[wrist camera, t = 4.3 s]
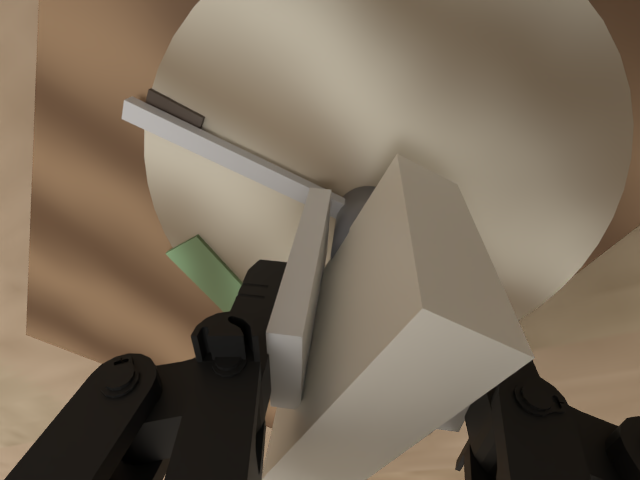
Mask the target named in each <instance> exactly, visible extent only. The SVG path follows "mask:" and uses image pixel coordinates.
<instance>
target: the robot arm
mask: <svg viewBox="0 0 640 480" xmlns="http://www.w3.org/2000/svg"><path fill="white" fill-rule="evenodd" d="M330 204H331V189H320V188H310V189H309V193H308V196H307V199H306V202H305V206H304V209H303V212H302V215H301V219H300V222H299V225H298V229H297V232H296V235H295V238H294V242H293V245H292V248H291V251H290V255H289V258H288V261H287V262H280V261H271V260H261V259H260V260H258V261H257V262H256V263H255V264H254V265H253V266H252V267H251V268H249V269H248V271H247V273H246V276H245V278H244V280H243V282H242V285H241V287H240V289H239V292H238V296H236V299H235V301H234V303H233V305H232V308H231V310H230V311H228V312H221V313H216V314H214V315H212V316H209V317H207V318H205V319H204V320H203V321H202V322H200V323H199V324H198V325H197V326H196V327H195V329H194V331H193V332H192V334H191V340H192V344H193V348H194V352H195V356H196V357H195V358H193V359H190V360H186V361H182V362H175V363H169V364H163V365H157V366H156V365H155V364H154V362H153V361H152V360H151V358H150V357H147V356H145V355H143V354H137V353H128V354H124V355H120V356H116V357H114V358H112V359H110V360H108V361H107V362H105V363H103V364H102V365H100V366H99V367H98V368H97V369H96V370H95V371H94V372H93V373H92V374H91V375H90V376H89V377H88V379H87V380H86V381H85V382H84V383H83V385H82V386H81V387H80V388H79V390H78V391H77V392H76V393H75V394H74V396H73V397H72V398H71V399H70V400H69V402H68V403H67V404H66V405H65V407H64V408H63V409H62V410H61V411H60V413H59V414H58V415H57V416H56V417H55V419H54V420H53V421H52V422H51V423H50V425H49V426H48V427H47V428H46V430H45V431H44V432H43V433H42V434H41V436H40V437H39V438H38V439H37V440H36V442H35V443H34V444H33V445H32V447H31V448H30V449H29V450H28V451H27V453H26V454H25V455H24V456H23V457H22V459H21V460H20V461H19V462H18V464H17V465H16V466H15V467H14V468H13V470H12V471H11V472H10V473H9V474H8V476H7V477H6V478H5V479H4V480H163V478H164V476H165V479H164V480H262V469H263V457H264V445H265V433H266V421H265V416H266V412H267V408H268V404H269V400H270V405H271V406H272V407H279V408H286V409H294V410H295V409H296V408H297V407H298V406H299V405H300V403H301V400H302V394H303V388H304V382H305V376H306V370H307V365H308V359H309V353H310V347H311V341H312V335H313V329H314V323H315V317H316V312H317V306H318V300H319V294H320V288H321V282H322V276H323V270H324V268H325V263H326V257H327V250H328V235H329V220H330ZM464 420H465V421H466V426H467V431H468V436H469V439H468V441H467V443H466V445H465V446H464V448H463V450H462V452H461V454H460V455H459V457H458V459H457V462H456V468H455V470H458V471H460V470H461V469H462V467H463V465H464V472H465V480H640V416H636V417H630V418H626V420H625V421H624V422H623V423H622V424H621V425H620V426H616V425H614V424H611V423H609V422H606V421H604V420H601V419H599V418H596V417H594V416H591V415H589V414H586V413H584V412H581V411H579V410H577V409H575V408H573V407H571V406H569V405H568V404H567V402H566V400H565V398H564V397H563V396H562V395H561V393H560V392H559V391H558V390H557V389H556V388H555V387H554V386H553V385H551V384H550V383H548V382H547V381H545V380H544V379H542V378H540V376H539V374H538V372H537V370H536V367H535V365H534V363H533V360H531V361H530V362H529V363H527V364H526V365H524V366H523V367H522V368H520V369H519V370H517V371H516V372H515V373H513V374H512V375H511V376H509V377H508V378H506V379H505V380H504V381H502V382H501V383H499V384H498V385H497V386H495V387H494V388H493V389H491V390H490V391H488V392H487V393H486V394H484V395H483V396H481V397H480V398H479V399H477V400H476V401H475V402H473V403H472V404H470V405H469V406H468V407H466V408H465V409H463V410H462V411H461V412H459V413H458V414H457V415H455V416H454V417H452V418H451V419H450V420H448V421H447V422H445V423H444V424H443V425H441V426H440V427H439V428H437V429H441V430H448V431H456V432H459V430H460V428H461V426H462V424H463V422H464ZM165 474H166V475H165Z"/></svg>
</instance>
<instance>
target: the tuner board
mask: <svg viewBox="0 0 640 480" xmlns="http://www.w3.org/2000/svg"><path fill="white" fill-rule="evenodd" d="M132 96H133V97H135V98H137V99H139V100H141V101H143V102H145V103H147V104H149V105H151V106H153V107H156V108H158V109H160V110H162V111H164V112H166V113H168V114H170V115H172V116H174V117H176V118H178V119H181V120H183V121H185V122H187V123H189V124H191V125H193V126H195V127H197V128H199V129H201V130H204V131H206V132H208V133H210V134H212V135H214V136H216V137H218V138H220V139H222V140H224V141H226V142H229V143H231V144H233V145H235V146H237V147H239V148H241V149H243V150H245V151H247V152H249V153H252V154H254V155H256V156H258V157H260V158H262V159H264V160H266V161H268V162H270V163H272V164H274V165H277V166H279V167H281V168H283V169H285V170H287V171H289V172H291V173H293V174H295V175H297V176H300V177H302V178H304V179H306V180H308V181H310V182H312V183H314V184H316V185H318V186H320V187H322V188H325V189H331V192H333V193H335V194H337V195H339V196H341V197H343V196H344V195H345V194H346V193H348V192H349V191H351V190H353V189H355V188H358V187H362V186H374V187H376V186H377V185H378V183H379V181H380V180H381V178H382V177H383V175H384V174H385V172H386V170H387V169H388V167H389V166H390V164H391V163H392V161H393V159H394V158H395V156H396V155H397V154H399V155H401V156H403V157H405V158H407V159H409V160H411V161H413V162H415V163H416V164H418V165H420V166H422V167H424V168H426V169H428V170H430V171H432V172H434V173H436V174H438V175H440V176H442V177H444V178H446V179H448V180H450V181H452V182H453V183H455V184H457V185H458V187H459V189H460V191H461V193H462V196H463V198H464V200H465V202H466V205H467V207H468V209H469V211H470V214H471V216H472V218H473V220H474V223H475V225H476V227H477V229H478V232H479V234H480V236H481V238H482V241H483V243H484V245H485V247H486V249H487V252H488V254H489V256H490V258H491V261H492V263H493V265H494V267H495V270H496V272H497V274H498V276H499V279H500V281H501V283H502V285H503V288H504V290H505V292H506V294H507V297H508V299H509V301H510V303H511V306H512V308H513V310H514V312H515V315H516V317H517V319H518V321H519V320H521V319H522V318H523V317H525V316H526V315H528V314H529V313H531V312H532V311H534V310H535V309H537V308H538V307H539V306H541V305H542V304H543V303H545V302H546V301H547V300H548V299H549V298H550V297H552V296H553V295H554V294H555V293H556V292H558V291H559V290H560V289H561V288H562V287H563V286H564V285H565V284H566V283H567V282H568V281H569V280H570V279H571V278H572V277H573V276H574V275H575V274H577V273H578V272H579V271H581V270H582V269H583V268H584V267H586V266H587V265H588V264H590V263H591V262H592V261H594V260H595V259H596V258H597V257H599V256H600V255H601V254H603V253H604V252H605V251H606V250H608V249H609V248H610V247H612V246H613V245H614V244H616V243H617V242H618V241H619V240H621V239H622V238H623V237H625V236H626V235H627V234H629V233H630V232H631V231H632V230H634V229H635V228H636V227H638V226H639V225H640V0H39V9H38V35H37V62H36V88H35V114H34V140H33V167H32V193H31V219H30V246H29V272H28V298H27V325H26V335H28V336H31V337H33V338H36V339H39V340H41V341H44V342H46V343H49V344H52V345H54V346H57V347H60V348H62V349H65V350H67V351H70V352H73V353H75V354H78V355H81V356H83V357H86V358H88V359H91V360H94V361H96V362H99V363H102V364H103V363H105V362H107V361H108V360H110V359H112V358H114V357H116V356H120V355H124V354H128V353H137V354H143V355H145V356H147V357H150V358H151V360H152V361H153V362H154V364H155V365H156V366H157V365H163V364H169V363H175V362H182V361H186V360H190V359H193V358H195V357H196V356H195V352H194V348H193V344H192V340H191V334H192V332H193V331H194V329H195V327H196V326H197V325H198V324H199V323H200V322H202V321H203V320H204V319H205V318H207V317H209V316H212V315H214V314H216V313H221V312H228V311H230V310H231V308H232V305H233V303H234V301H235V299H236V296H238V292H239V289H240V287H241V285H242V282H243V280H244V278H245V276H246V273H247V271H248V269H249V268H251V267H252V266H253V265H254V264H255V263H256V262H257V261H258V260H260V259H261V260H271V261H280V262H287V261H288V258H289V255H290V251H291V248H292V245H293V242H294V238H295V235H296V232H297V229H298V225H299V222H300V219H301V215H302V212H303V209H304V206H305V204H303V203H301V202H298V201H296V200H294V199H292V198H290V197H288V196H286V195H283V194H281V193H279V192H277V191H275V190H273V189H271V188H268V187H266V186H264V185H262V184H260V183H258V182H256V181H254V180H251V179H249V178H247V177H245V176H243V175H241V174H239V173H236V172H234V171H232V170H230V169H228V168H226V167H224V166H221V165H219V164H217V163H215V162H213V161H211V160H209V159H206V158H204V157H202V156H200V155H198V154H196V153H194V152H191V151H189V150H187V149H185V148H183V147H181V146H179V145H176V144H174V143H172V142H170V141H168V140H166V139H164V138H161V137H159V136H157V135H155V134H153V133H151V132H149V131H146V130H144V129H142V128H140V127H138V126H136V125H134V124H131V123H129V122H127V121H125V120H123V119H122V112H123V104H124V100H125V99H127V98H129V97H132ZM335 222H336V219H335V218H333V217H331V216H330V220H329V235H328V250H327V257H326V263H325V266H326V265H327V263H328V262H329V260H330V259H331V249H332V242H333V235H334V229H335ZM276 409H277V407H272V406H271V405H270V400H269V404H268V408H267V412H266V416H265V421H266V426H267V427H270V428H272V427H273V422H274V418H275V413H276Z"/></svg>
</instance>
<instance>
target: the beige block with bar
mask: <svg viewBox="0 0 640 480" xmlns="http://www.w3.org/2000/svg"><path fill="white" fill-rule="evenodd" d="M122 119H123V120H125V121H127V122H129V123H131V124H134V125H136V126H138V127H140V128H142V129H144V130H146V131H149V132H151V133H153V134H155V135H157V136H159V137H161V138H164V139H166V140H168V141H170V142H172V143H174V144H176V145H179V146H181V147H183V148H185V149H187V150H189V151H191V152H194V153H196V154H198V155H200V156H202V157H204V158H206V159H209V160H211V161H213V162H215V163H217V164H219V165H221V166H224V167H226V168H228V169H230V170H232V171H234V172H236V173H239V174H241V175H243V176H245V177H247V178H249V179H251V180H254V181H256V182H258V183H260V184H262V185H264V186H266V187H268V188H271V189H273V190H275V191H277V192H279V193H281V194H283V195H286V196H288V197H290V198H292V199H294V200H296V201H298V202H301V203H303V204H305V202H306V199H307V196H308V193H309V189H310V188H320V189H325V188H322V187H320V186H318V185H316V184H314V183H312V182H310V181H308V180H306V179H304V178H302V177H300V176H297V175H295V174H293V173H291V172H289V171H287V170H285V169H283V168H281V167H279V166H277V165H274V164H272V163H270V162H268V161H266V160H264V159H262V158H260V157H258V156H256V155H254V154H252V153H249V152H247V151H245V150H243V149H241V148H239V147H237V146H235V145H233V144H231V143H229V142H226V141H224V140H222V139H220V138H218V137H216V136H214V135H212V134H210V133H208V132H206V131H204V130H201V129H199V128H197V127H195V126H193V125H191V124H189V123H187V122H185V121H183V120H181V119H178V118H176V117H174V116H172V115H170V114H168V113H166V112H164V111H162V110H160V109H158V108H156V107H153V106H151V105H149V104H147V103H145V102H143V101H141V100H139V99H137V98H135V97H133V96H132V97H129V98H127V99H125V100H124V104H123V112H122ZM330 216H331V217H333V218H335V219H336V222H335V229H334V235H333V242H332V249H331V259H330V260H329V262H328V263H327V265H326V266H325V268H324V270H323V276H322V282H321V288H320V294H319V300H318V306H317V312H316V317H315V323H314V329H313V335H312V341H311V347H310V353H309V359H308V365H307V370H306V376H305V382H304V388H303V394H302V400H301V403H300V405H299V406H298V407H297V408H296V409H295V410H294V409H286V408H279V407H277V409H276V413H275V418H274V422H273V427H272V431H271V436H270V440H269V445H268V449H267V454H266V458H265V463H264V467H263V472H262V480H367V479H368V478H369V477H371V476H372V475H373V474H375V473H376V472H378V471H379V470H380V469H382V468H383V467H385V466H386V465H387V464H389V463H390V462H391V461H393V460H394V459H396V458H397V457H398V456H400V455H401V454H403V453H404V452H405V451H407V450H408V449H409V448H411V447H412V446H414V445H415V444H416V443H418V442H419V441H421V440H422V439H423V438H425V437H426V436H427V435H429V434H430V433H432V432H433V431H434V430H436V429H437V428H439V427H440V426H441V425H443V424H444V423H445V422H447V421H448V420H450V419H451V418H452V417H454V416H455V415H457V414H458V413H459V412H461V411H462V410H463V409H465V408H466V407H468V406H469V405H470V404H472V403H473V402H475V401H476V400H477V399H479V398H480V397H481V396H483V395H484V394H486V393H487V392H488V391H490V390H491V389H493V388H494V387H495V386H497V385H498V384H499V383H501V382H502V381H504V380H505V379H506V378H508V377H509V376H511V375H512V374H513V373H515V372H516V371H517V370H519V369H520V368H522V367H523V366H524V365H526V364H527V363H529V362H530V361H531V360H533V359H534V358H535V357H534V355H533V353H532V350H531V348H530V346H529V344H528V342H527V339H526V337H525V335H524V333H523V330H522V328H521V326H520V324H519V321H518V319H517V317H516V315H515V312H514V310H513V308H512V306H511V303H510V301H509V299H508V297H507V294H506V292H505V290H504V288H503V285H502V283H501V281H500V279H499V276H498V274H497V272H496V270H495V267H494V265H493V263H492V261H491V258H490V256H489V254H488V252H487V249H486V247H485V245H484V243H483V241H482V238H481V236H480V234H479V232H478V229H477V227H476V225H475V223H474V220H473V218H472V216H471V214H470V211H469V209H468V207H467V205H466V202H465V200H464V198H463V196H462V193H461V191H460V189H459V187H458V185H457V184H455V183H453V182H452V181H450V180H448V179H446V178H444V177H442V176H440V175H438V174H436V173H434V172H432V171H430V170H428V169H426V168H424V167H422V166H420V165H418V164H416V163H415V162H413V161H411V160H409V159H407V158H405V157H403V156H401V155H399V154H397V155H396V156H395V158H394V159H393V161H392V163H391V164H390V166H389V167H388V169H387V170H386V172H385V174H384V175H383V177H382V178H381V180H380V181H379V183H378V185H377V186H376V187H374V186H362V187H358V188H355V189H353V190H351V191H349V192H348V193H346V194H345V195H344V196H343V197H341V196H339V195H337V194H335V193H333V192H331V204H330Z"/></svg>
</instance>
